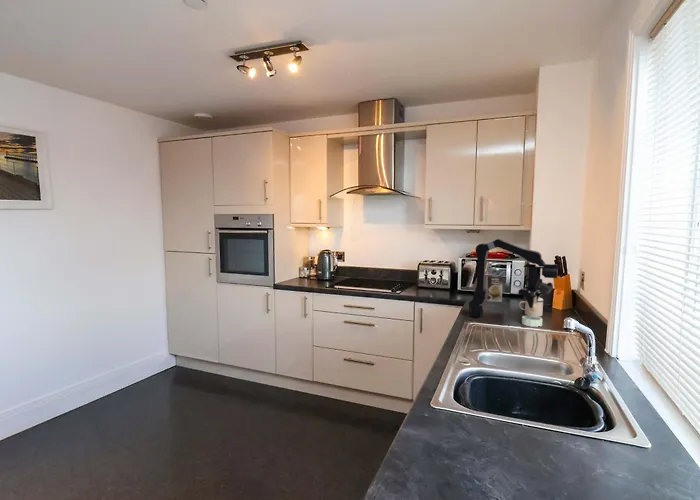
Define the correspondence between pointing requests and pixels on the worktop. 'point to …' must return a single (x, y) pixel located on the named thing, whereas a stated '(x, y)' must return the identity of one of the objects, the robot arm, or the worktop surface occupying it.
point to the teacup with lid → (538, 308)
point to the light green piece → (532, 321)
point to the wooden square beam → (533, 305)
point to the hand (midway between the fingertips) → (532, 307)
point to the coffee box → (494, 288)
